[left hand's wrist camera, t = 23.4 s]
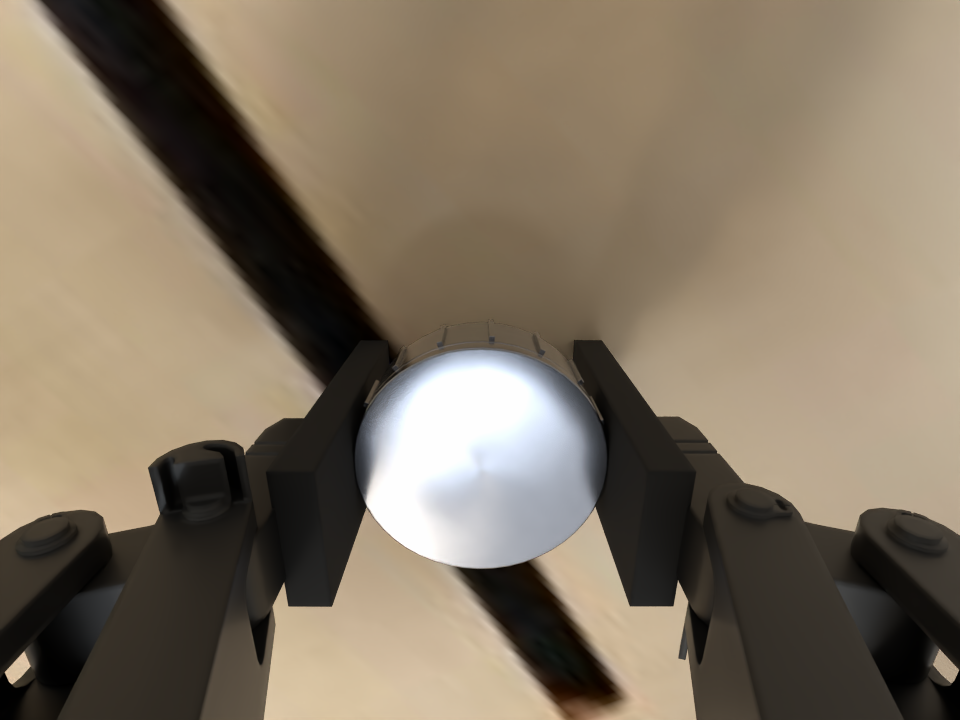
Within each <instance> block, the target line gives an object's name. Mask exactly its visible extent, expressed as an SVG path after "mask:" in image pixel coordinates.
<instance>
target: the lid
mask: <svg viewBox="0 0 960 720" xmlns="http://www.w3.org/2000/svg"><path fill="white" fill-rule="evenodd" d="M583 383H584V381H583V379H582V377H581V375H580V373H579V371H578V369H577V367H576V365H575V363H574V361H573V360H572V359H570V360H569V361H568V360H567V359H566V357H565V356H564V355H563V354H561V353H560V352H559V351H558V350H557V349H556V348H555V347H554V346H552V345H551V344H549V343H548V342H546V341H545V340H543V339H542V338H541V337H540V335H539V333H537V332H534V334H532V333H530V332H528V331H525V330H522V329H519V328H516V327H514V326H509V325H504V324H499V323H494V321H493V320H490V319H489V320H488V322H474V323H463V324H458V325H452V326H449V327H446V325H445V324H444V325H441V327H440V329H439V330H436V331H434V332H432V333H430V334H427V335H425V336H423V337H422V338H420V339H418V340H417V341H415V342H414V343H412V344H410V345H409V346H408V347H407V348H406V347H405V346H403V347H401V348H400V350H399V353H398V355H397V357H396V358H395V359H394V360H393V361H392V362H391V364H390V365H389V366H388V368H387V369H386V371H385V372H384V374H383V375H382V377H381V379H380V381H378V380H375V382H374V384H373V386H372V388H371V390H370V392H369V394H368V396H367V398H366V400H365V403H364V405H363V406H364V407H366V410H365V412H364V415H363V417H362V419H361V421H360V424H359V427H358V430H357V433H356V437H355V444H354V450H353V459H354V471H355V478H356V482H357V485H358V488H359V492H360V495H361V497H362V499H363V501H364V503H365V505H366V507H367V509H368V510H369V512H370V513H371V515H372V516H373V518H374V519H375V520H376V522H377V523H378V524H379V525H380V526H381V527H382V528H383V530H384V531H385V532H387V533H388V534H389V535H390V536H391V537H392V538H393V539H394V540H396V541H397V542H399V543H400V544H401V545H403V546H404V547H406V548H407V549H409V550H411V551H413V552H415V553H416V554H418V555H420V556H423V557H425V558H428V559H430V560H433V561H436V562H439V563H443V564H446V565H450V566H456V567H462V568H475V569H485V568H498V567H505V566H511V565H515V564H519V563H523V562H526V561H528V560H531V559H534V558H536V557H539V556H541V555H543V554H545V553H547V552H549V551H551V550H552V549H554V548H555V547H557V546H558V545H560V544H561V543H563V542H564V541H566V540H567V539H568V538H569V537H570V536H571V535H573V534H574V533H575V532H576V531H577V530H578V529H579V528H580V527H581V526H582V524H583V523H584V522H585V521H586V520H587V518H588V517H589V515H590V514H591V513H592V511H593V510H594V508H595V506H596V504H597V502H598V500H599V498H600V496H601V493H602V490H603V487H604V484H605V481H606V475H607V470H608V445H607V438H606V434H605V431H604V427H603V424H605V422H604V419H603V417H602V415H601V413H600V411H599V409H598V407H597V405H596V403H595V401H594V399H593V397H592V396H589V394H588V392H587V390H586V388H585V386H584V384H583Z"/></svg>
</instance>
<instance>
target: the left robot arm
mask: <svg viewBox="0 0 960 720" xmlns="http://www.w3.org/2000/svg"><path fill="white" fill-rule="evenodd" d="M573 361H574V363H575V365H576V367H577V369H578V371H579V373H580V375H581V377H582V379H583V381H584V383H583V384H584V386H585V388H586V390H587V392H588V394H589V396H592V397H593V399H594V401H595V403H596V405H597V407H598V409H599V411H600V413H601V415H602V417H603V419H604V422H605V424H603V427H604V431H605V434H606V438H607V445H608V470H607V475H606V481H605V484H604V487H603V490H602V493H601V496H600V498H599V500H598V502H597V504H596V506H595V507H596V510H597V512H598V515H599V518H600V521H601V524H602V527H603V530H604V533H605V536H606V538H607V541H608V544H609V547H610V550H611V553H612V556H613V559H614V562H615V564H616V567H617V570H618V573H619V576H620V579H621V582H622V585H623V588H624V591H625V593H626V596H627V599H628V602H629V605H630V606H674V600H675V594H676V588H677V582H678V581H679V583H680V585H681V587H682V589H683V591H684V593H685V595H686V597H687V599H688V607H687V612H686V618H685V623H684V628H683V634H682V639H681V645H680V651H679V659H684V660H685V659H686V654H687V649H688V655H689V663H690V671H691V679H692V687H693V695H694V703H695V711H696V718H697V720H960V535H958V534H956V533H955V532H953V531H952V530H950V529H949V528H947V527H945V526H944V525H942V524H939V523H937V522H935V521H932V520H930V519H928V518H927V517H925V516H923V515H920V514H917V513H911V512H910V511H905V510H896V509H888V508H877V509H869V510H867V511H865V512H864V513H863V514H861V515H860V517H859V521H858V524H857V527H856V530H855V532H852V531H847V530H842V529H837V528H832V527H827V526H821V525H816V524H812V523H808V522H804V521H803V519H802V517H801V515H800V513H799V512H798V510H797V509H796V508H795V507H794V506H793V504H792V503H790V502H789V501H787V500H786V499H784V498H783V497H782V496H780V495H779V494H777V493H774V492H772V491H769V490H767V489H765V488H762V487H759V486H754V485H750V484H746V483H744V482H743V481H742V480H741V479H740V477H739V476H738V475H737V474H736V473H735V472H734V470H733V469H732V468H731V467H730V466H729V465H728V463H727V462H726V461H725V460H724V459H723V457H722V456H721V455H720V454H717V450H716V449H715V448H714V447H713V446H712V445H711V443H708V440H707V439H706V437H705V436H704V435H703V434H702V433H701V432H700V430H699V429H698V428H697V427H695V426H694V425H692V424H690V423H688V422H687V421H685V420H683V419H682V418H680V417H657V416H656V415H655V414H654V412H653V411H652V409H651V408H650V407H649V405H648V404H647V402H646V401H645V400H644V398H643V397H642V396H641V394H640V393H639V391H638V390H637V389H636V387H635V386H634V384H633V383H632V382H631V380H630V379H629V378H628V376H627V375H626V373H625V372H624V371H623V369H622V368H621V366H620V365H619V364H618V362H617V361H616V360H615V358H614V357H613V355H612V354H611V353H610V351H609V350H608V348H607V347H606V346H605V344H604V343H603V342H602V340H574V353H573ZM389 365H390V364H389V349H388V340H361V341H360V342H359V343H358V345H357V346H356V347H355V349H354V350H353V352H352V353H351V354H350V356H349V357H348V359H347V360H346V361H345V363H344V364H343V365H342V367H341V368H340V370H339V371H338V372H337V374H336V375H335V377H334V378H333V379H332V381H331V382H330V383H329V385H328V386H327V388H326V389H325V390H324V392H323V393H322V394H321V396H320V397H319V399H318V400H317V401H316V403H315V404H314V406H313V407H312V408H311V410H310V411H309V412H308V414H307V415H306V417H305V418H284V419H282V420H280V421H279V422H277V423H275V424H273V425H272V426H270V427H268V428H267V429H265V430H264V432H263V433H262V434H261V435H260V436H259V437H258V439H257V440H256V441H255V444H254V445H252V446H251V447H250V448H249V449H248V450H247V452H246V455H244V450H243V447H241V446H240V445H238V444H237V443H235V442H230V441H225V440H210V441H202V442H197V443H192V444H188V445H185V446H182V447H180V448H177V449H174V450H171V451H170V452H168V453H166V454H164V455H163V456H161V457H159V458H157V459H156V460H155V461H154V462H153V463H152V464H151V465H150V466H149V467H148V469H149V473H150V477H151V481H152V485H153V488H154V492H155V496H156V500H157V504H158V507H159V511H160V515H159V517H158V519H157V521H156V523H155V525H151V526H147V527H141V528H136V529H131V530H126V531H121V532H115V533H110V534H108V532H107V529H106V525H105V522H104V519H103V517H102V516H101V515H99V514H98V513H96V512H94V511H86V510H76V511H67V512H59V513H54V514H52V515H47V516H44V517H41V518H38V519H36V520H35V521H33V522H31V523H29V524H27V525H24V526H22V527H20V528H18V529H17V530H15V531H14V532H12V533H10V534H9V535H7V536H6V537H4V538H3V539H1V540H0V720H264V712H265V704H266V696H267V688H268V680H269V672H270V664H271V656H272V648H273V640H274V632H275V618H274V612H273V607H272V606H273V604H274V602H275V600H276V598H277V596H278V594H279V591H280V589H281V587H282V585H283V583H285V589H286V595H287V600H288V606H307V607H332V605H333V602H334V599H335V596H336V593H337V590H338V588H339V585H340V582H341V579H342V576H343V573H344V570H345V567H346V564H347V562H348V559H349V556H350V553H351V550H352V547H353V544H354V541H355V539H356V536H357V533H358V530H359V527H360V524H361V521H362V518H363V515H364V513H365V510H366V505H365V503H364V501H363V499H362V497H361V495H360V492H359V488H358V485H357V482H356V478H355V471H354V459H353V450H354V444H355V437H356V433H357V430H358V427H359V424H360V421H361V419H362V417H363V415H364V412H365V410H366V407H364V406H363V405H364V403H365V400H366V398H367V396H368V394H369V392H370V390H371V388H372V386H373V384H374V382H375V380H378V381H380V379H381V377H382V375H383V374H384V372H385V371H386V369H387V368H388V366H389ZM939 649H940V650H941V651H942V652H943V653H944V654H945V655H946V656H947V657H948V658H949V659H950V660H951V661H952V663H953V664H954V665H955V666H956V667H957V668H958V669H959V672H958V674H957V676H956V679H955V681H954V682H953V683H950V682H949V681H948V680H946V679H945V678H944V677H943V676H942V675H941V674H940V673H939V672H938V671H937V669H936V668H935V667H934V666H933V663H934V660H935V658H936V656H937V653H938V651H939ZM24 651H25V654H26V656H27V658H28V661H29V663H30V666H31V667H30V668H29V669H28V670H27V671H26V672H25V674H24V675H23V676H22V677H21V678H20V679H18V680H17V681H16V682H15V683H14V684H11V683H9V681H8V679H7V677H6V674H5V671H6V670H7V669H8V668H9V667H10V666H11V665H12V664H13V663H14V661H15V660H16V659H17V658H18V657H19V656H20V655H21V654H22V653H23V652H24Z"/></svg>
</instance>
